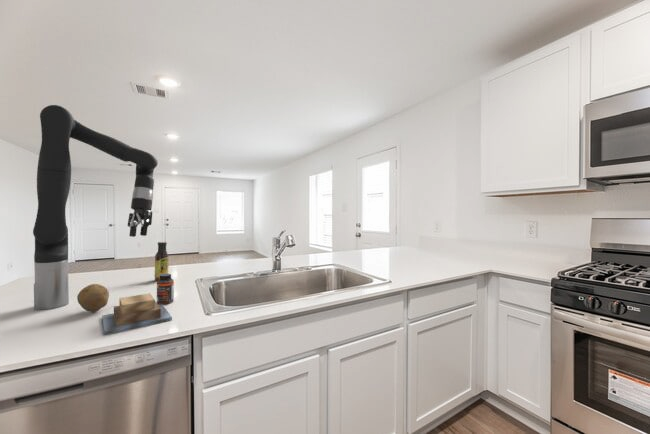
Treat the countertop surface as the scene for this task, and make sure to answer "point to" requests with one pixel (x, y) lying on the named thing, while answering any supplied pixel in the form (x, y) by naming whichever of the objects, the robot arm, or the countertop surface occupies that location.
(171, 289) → the supplement bottle
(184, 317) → the countertop surface
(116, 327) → the block tower
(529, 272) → the countertop surface
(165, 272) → the sauce bottle
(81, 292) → the natural sponge
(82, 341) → the countertop surface
